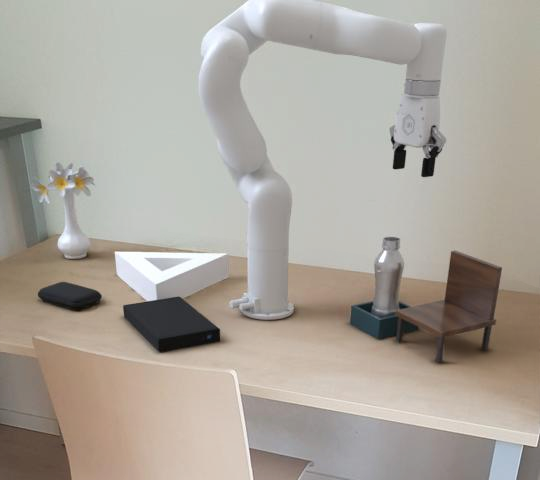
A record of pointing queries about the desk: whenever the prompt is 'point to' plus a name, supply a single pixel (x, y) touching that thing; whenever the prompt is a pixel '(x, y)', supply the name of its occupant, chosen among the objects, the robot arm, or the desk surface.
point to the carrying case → (69, 295)
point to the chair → (458, 303)
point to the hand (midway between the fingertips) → (412, 172)
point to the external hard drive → (171, 324)
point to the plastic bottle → (387, 278)
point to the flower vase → (68, 206)
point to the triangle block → (170, 272)
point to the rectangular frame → (377, 321)
